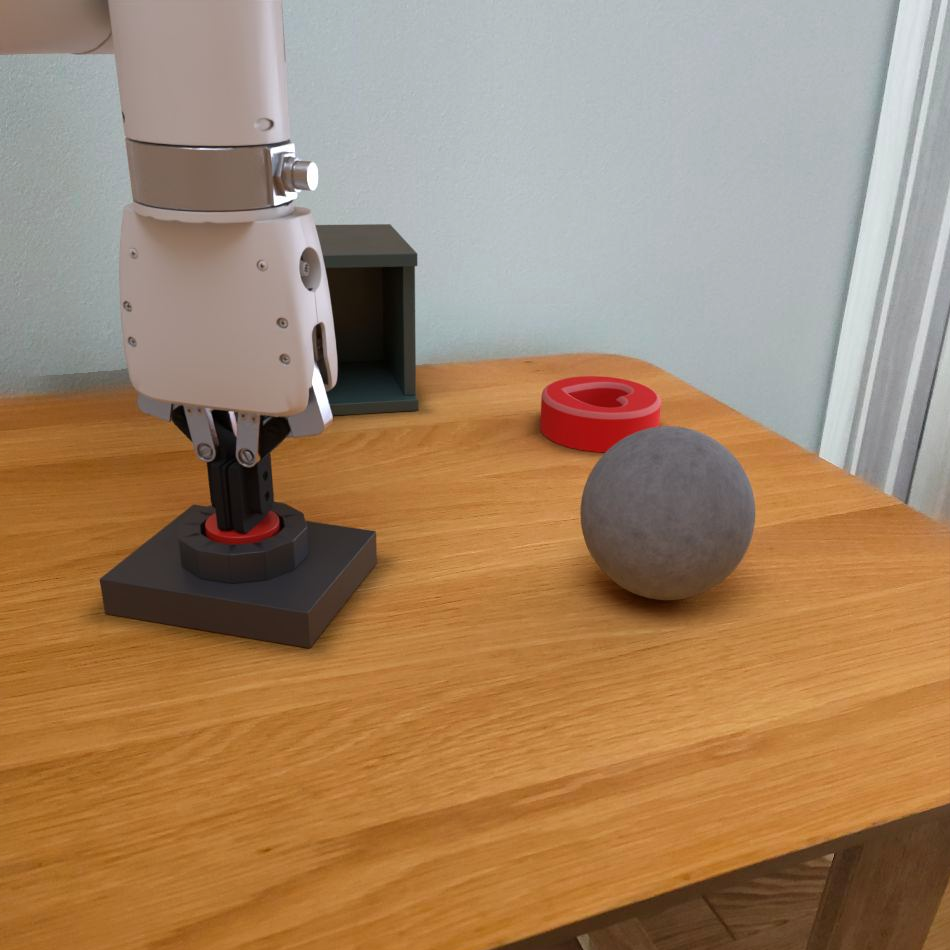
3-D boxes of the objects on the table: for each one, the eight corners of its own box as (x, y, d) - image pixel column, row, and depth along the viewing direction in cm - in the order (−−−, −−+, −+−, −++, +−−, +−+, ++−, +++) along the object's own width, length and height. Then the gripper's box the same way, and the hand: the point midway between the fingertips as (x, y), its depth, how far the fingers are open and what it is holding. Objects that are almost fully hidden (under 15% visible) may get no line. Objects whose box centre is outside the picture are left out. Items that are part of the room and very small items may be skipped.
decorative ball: (771, 623, 60) (799, 461, 56) (605, 641, 58) (620, 472, 53) (703, 544, 69) (722, 398, 64) (555, 557, 66) (564, 405, 62)
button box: (104, 614, 58) (94, 549, 56) (196, 535, 67) (190, 477, 65) (309, 648, 56) (306, 582, 54) (377, 563, 65) (375, 503, 63)
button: (194, 559, 59) (191, 531, 58) (229, 529, 62) (226, 502, 61) (261, 570, 58) (259, 541, 57) (292, 538, 61) (290, 511, 61)
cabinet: (193, 424, 83) (175, 257, 78) (190, 376, 94) (174, 226, 88) (418, 410, 89) (417, 253, 83) (392, 367, 99) (390, 224, 93)
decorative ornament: (531, 410, 90) (533, 374, 89) (641, 409, 92) (645, 374, 90) (550, 453, 82) (552, 414, 80) (671, 451, 83) (675, 413, 82)
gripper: (387, 180, 53) (394, 512, 61) (117, 158, 56) (158, 479, 64) (328, 203, 46) (344, 571, 55) (24, 177, 49) (84, 532, 57)
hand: (244, 521), depth 59 cm, fingers closed
